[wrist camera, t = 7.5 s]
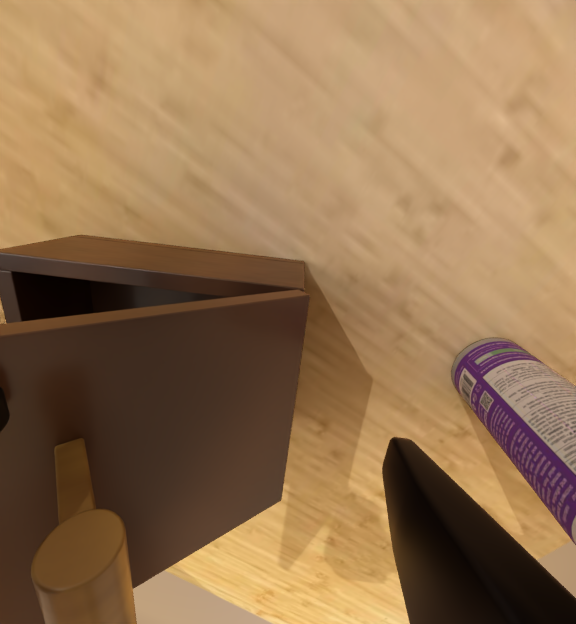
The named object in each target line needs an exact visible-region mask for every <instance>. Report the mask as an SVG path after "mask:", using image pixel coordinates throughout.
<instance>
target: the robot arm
mask: <svg viewBox="0 0 576 624" xmlns="http://www.w3.org/2000/svg"><path fill="white" fill-rule="evenodd" d="M9 418H10V413H9V409H8V405H7V401H6V397H5V393H4V390H3V389H2V388H1V387H0V432H1V431H2V430H3V429H4V427H5V426H6V425H7V423H8V421H9ZM382 474H383V482H384V489H385V497H386V504H387V512H388V519H389V527H390V534H391V541H392V547H393V552H394V557H395V562H396V566H397V571H398V575H399V579H400V583H401V588H402V592H403V596H404V600H405V605H406V609H407V613H408V617H409V622H410V624H576V598H575V597H574V596H573V595H572V594H571V593H570V592H569V591H568V590H566V588H564V586H562V585H561V584H560V583H559V582H558V581H557V580H556V579H555V578H554V577H553V576H552V575H551V574H550V573H549V572H548V571H547V570H546V569H545V568H544V567H543V566H542V565H541V564H540V563H539V562H538V561H537V560H536V559H534V558H533V557H532V556H531V555H530V554H529V553H528V552H527V551H526V550H525V549H524V548H523V547H522V546H521V545H520V544H519V543H518V542H517V541H516V540H515V539H514V538H513V537H512V536H511V535H510V534H509V533H507V532H506V531H505V530H504V529H503V528H502V527H501V526H500V525H499V524H498V523H497V522H496V521H495V520H494V519H493V518H492V517H491V516H490V515H489V514H488V513H487V512H486V511H485V510H484V509H483V508H482V507H480V506H479V505H478V504H477V503H476V502H475V501H474V500H473V499H472V498H471V497H470V496H469V495H468V494H467V493H466V492H465V491H464V490H463V489H462V488H461V487H460V486H459V485H458V484H457V483H456V482H455V481H453V480H452V479H451V478H450V477H449V476H448V475H447V474H446V473H445V472H444V471H443V470H442V469H441V468H440V467H439V466H438V465H437V464H436V463H435V462H434V461H433V460H432V459H431V458H430V457H429V456H428V455H426V454H425V453H424V452H423V451H422V450H421V449H420V448H419V447H418V446H417V445H416V444H415V443H414V442H413V441H412V440H410V439H406V438H398V437H393V438H392V439H391V440H390V442H389V445H388V449H387V452H386V455H385V459H384V462H383V468H382Z"/></svg>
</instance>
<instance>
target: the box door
mask: <svg viewBox="0 0 576 624" xmlns="http://www.w3.org/2000/svg"><path fill="white" fill-rule="evenodd" d="M309 299H310V295H309V294H307V293H305V292H302V291H300V290H289V291H280V292H272V293H263V294H255V295H246V296H238V297H229V298H220V299H212V300H203V301H195V302H186V303H177V304H169V305H160V306H152V307H143V308H135V309H126V310H117V311H109V312H100V313H92V314H83V315H75V316H66V317H57V318H49V319H40V320H32V321H23V322H14V323H6V324H0V387H1V388H2V389H3V390H4V393H5V397H6V401H7V405H8V409H9V413H10V418H9V421H8V423H7V425H6V426H5V427H4V429H3V430H2V431H1V432H0V624H137V622H136V613H135V605H134V596H133V588H135V587H137V586H138V585H140V584H142V583H144V582H145V581H147V580H148V579H150V578H152V577H153V576H155V575H157V574H159V573H160V572H162V571H164V570H165V569H167V568H169V567H170V566H172V565H174V564H175V563H177V562H179V561H180V560H182V559H184V558H185V557H187V556H189V555H190V554H192V553H194V552H195V551H197V550H199V549H200V548H202V547H204V546H205V545H207V544H209V543H210V542H212V541H214V540H215V539H217V538H219V537H220V536H222V535H224V534H226V533H227V532H229V531H231V530H232V529H234V528H236V527H237V526H239V525H241V524H242V523H244V522H246V521H247V520H249V519H251V518H252V517H254V516H256V515H257V514H259V513H261V512H262V511H264V510H266V509H267V508H269V507H271V506H272V505H274V504H276V503H277V502H279V501H281V498H282V491H283V484H284V477H285V470H286V463H287V456H288V448H289V441H290V434H291V427H292V420H293V413H294V406H295V398H296V391H297V384H298V377H299V370H300V363H301V356H302V349H303V341H304V334H305V327H306V320H307V313H308V306H309Z"/></svg>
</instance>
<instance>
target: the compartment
mask: <svg viewBox="0 0 576 624" xmlns="http://www.w3.org/2000/svg"><path fill="white" fill-rule="evenodd" d="M304 269H305V263H304V261H298V260H290V259H281V258H273V257H264V256H256V255H247V254H239V253H230V252H222V251H214V250H205V249H197V248H188V247H180V246H171V245H163V244H154V243H146V242H137V241H129V240H120V239H112V238H103V237H95V236H87V235H77V236H73V237H72V236H71V237H65V238H60V239H54V240H49V241H44V242H38V243H33V244H27V245H22V246H16V247H11V248H5V249H0V297H1V301H2V305H3V310H4V314H5V318H6V322H7V323H14V322H23V321H32V320H40V319H49V318H57V317H66V316H75V315H83V314H92V313H100V312H109V311H117V310H126V309H135V308H143V307H152V306H160V305H169V304H177V303H186V302H195V301H203V300H212V299H220V298H229V297H238V296H246V295H255V294H263V293H272V292H280V291H289V290H300V291H302V292H304Z"/></svg>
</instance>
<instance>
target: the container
mask: <svg viewBox="0 0 576 624" xmlns="http://www.w3.org/2000/svg"><path fill="white" fill-rule="evenodd" d="M451 377H452V382H453V384H454V386H455V388H456V389H457V390H458V392H459V393H460V394H461V396H462V397H463V398H464V400H465V401H466V402H467V404H468V405H469V406H470V408H471V409H472V410H473V411H474V413H475V414H476V415H477V417H478V418H479V419H480V421H481V422H482V423H483V424H484V426H485V427H486V428H487V430H488V431H489V432H490V434H491V435H492V436H493V438H494V439H495V440H496V441H497V443H498V444H499V445H500V447H501V448H502V449H503V451H504V452H505V453H506V455H507V456H508V457H509V458H510V460H511V461H512V462H513V464H514V465H515V466H516V468H517V469H518V470H519V472H520V473H521V474H522V475H523V477H524V478H525V479H526V481H527V482H528V483H529V485H530V486H531V487H532V489H533V490H534V491H535V492H536V494H537V495H538V496H539V498H540V499H541V500H542V502H543V503H544V504H545V506H546V507H547V508H548V509H549V511H550V512H551V513H552V515H553V516H554V517H555V519H556V520H557V521H558V523H559V524H560V525H561V526H562V528H563V529H564V530H565V532H566V533H567V534H568V536H569V537H570V538H571V539H572V541H573V542H574V543H575V545H576V386H575V385H573V384H572V383H570V382H569V381H568V380H566V379H565V378H563V377H562V376H561V375H559V374H558V373H556V372H555V371H554V370H552V369H551V368H549V367H548V366H547V365H545V364H544V363H542V362H541V361H540V360H538V359H537V358H535V357H534V356H533V355H531V354H530V353H528V352H527V351H526V350H524V349H523V348H521V347H520V346H518V345H517V344H515V343H514V342H512V341H510V340H507V339H502V338H488V339H484V340H480V341H477V342H475V343H473V344H471V345H470V346H468V347H467V348H465V349H464V350H463V351H462V352H461V353H460V354H459V355H458V357H457V358H456V360H455V361H454V364H453V367H452V371H451Z"/></svg>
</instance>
